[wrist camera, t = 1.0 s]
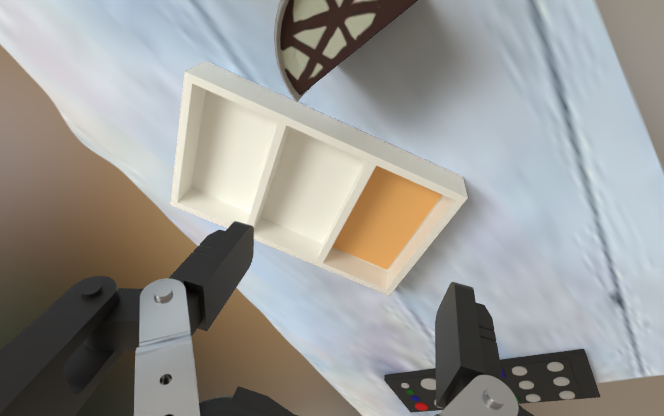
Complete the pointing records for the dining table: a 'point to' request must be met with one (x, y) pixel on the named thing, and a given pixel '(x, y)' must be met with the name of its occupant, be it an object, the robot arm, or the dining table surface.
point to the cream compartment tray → (306, 180)
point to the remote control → (511, 380)
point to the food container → (325, 35)
